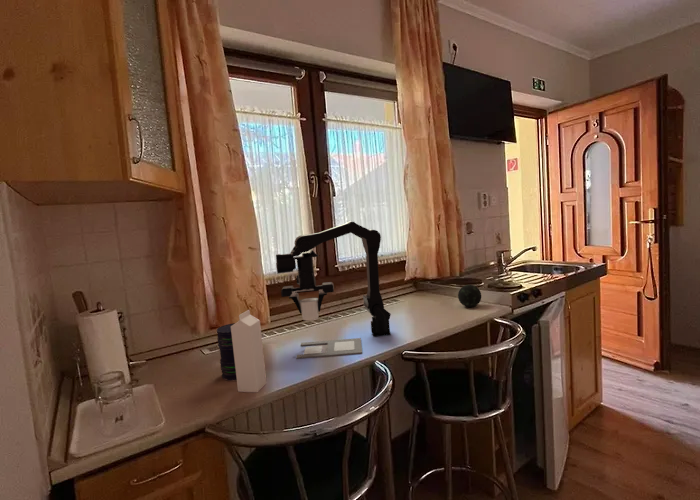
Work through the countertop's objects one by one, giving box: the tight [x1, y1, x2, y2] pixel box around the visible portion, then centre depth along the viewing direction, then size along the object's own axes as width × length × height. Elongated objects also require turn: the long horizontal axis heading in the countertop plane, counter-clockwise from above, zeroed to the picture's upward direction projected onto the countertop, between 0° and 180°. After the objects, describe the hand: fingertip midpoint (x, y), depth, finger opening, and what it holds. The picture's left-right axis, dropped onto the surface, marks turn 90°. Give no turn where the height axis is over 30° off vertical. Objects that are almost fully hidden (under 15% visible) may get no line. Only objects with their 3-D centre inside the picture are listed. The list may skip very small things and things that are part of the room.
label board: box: [296, 337, 363, 360], centre depth 145 cm, size 22×15×1 cm
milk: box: [231, 309, 267, 393], centre depth 117 cm, size 6×6×22 cm
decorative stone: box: [457, 284, 482, 308], centre depth 185 cm, size 10×10×10 cm
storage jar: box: [216, 322, 237, 382], centre depth 128 cm, size 10×10×15 cm
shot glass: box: [299, 297, 319, 322], centre depth 150 cm, size 7×7×7 cm
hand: (310, 312), depth 151 cm, fingers closed on shot glass, 6 cm apart
